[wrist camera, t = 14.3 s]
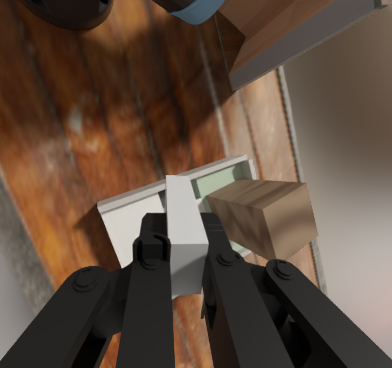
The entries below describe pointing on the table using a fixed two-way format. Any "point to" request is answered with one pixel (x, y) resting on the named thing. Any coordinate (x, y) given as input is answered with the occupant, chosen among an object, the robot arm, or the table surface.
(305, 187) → the walnut block
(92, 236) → the table surface
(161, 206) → the box
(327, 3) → the cabinet
